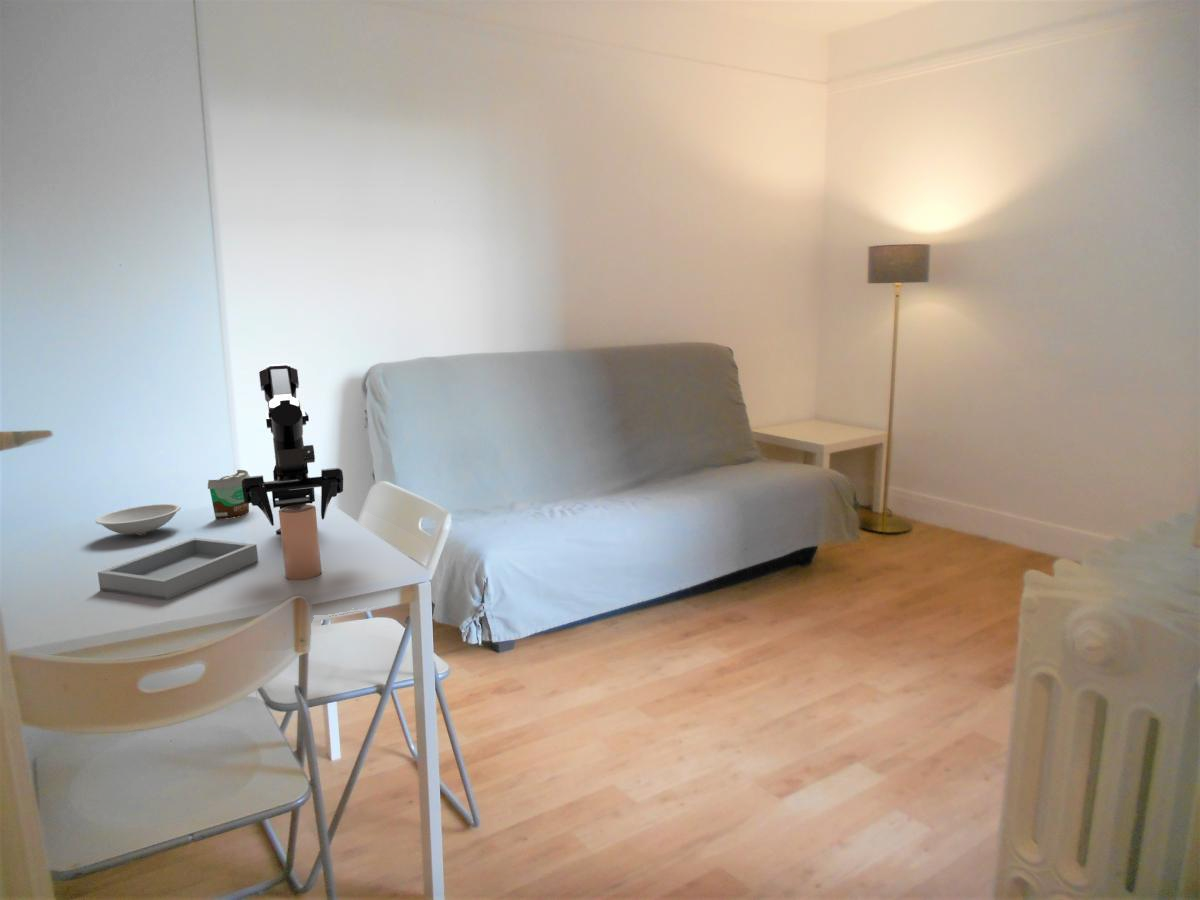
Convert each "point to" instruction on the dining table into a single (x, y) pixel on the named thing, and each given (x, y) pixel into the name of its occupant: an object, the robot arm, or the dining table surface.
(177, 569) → the tray
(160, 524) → the dish
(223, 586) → the dining table surface
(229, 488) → the food container
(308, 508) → the cup
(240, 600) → the dining table surface
